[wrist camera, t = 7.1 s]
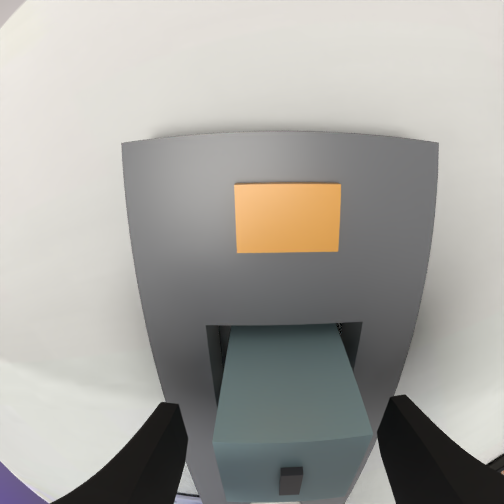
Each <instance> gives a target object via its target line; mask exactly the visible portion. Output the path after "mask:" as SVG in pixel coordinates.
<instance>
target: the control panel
mask: <svg viewBox="0 0 504 504" xmlns="http://www.w3.org/2000/svg"><path fill="white" fill-rule="evenodd" d="M121 145H122V162H123V175H124V187H125V197H126V207H127V216H128V224H129V232H130V239H131V246H132V253H133V259H134V265H135V271H136V277H137V283H138V288H139V294H140V299H141V304H142V309H143V314H144V319H145V323H146V328H147V332H148V336H149V341H150V345H151V349H152V353H153V357H154V361H155V365H156V369H157V373H158V376H159V380H160V384H161V387H162V391H163V394H164V397H165V401H166V403H176V404H179V407H180V410H181V414H182V418H183V421H184V425H185V428H186V432H187V435H188V445H187V453H186V460H185V461H186V463H187V466H188V469H189V471H190V474H191V476H192V479H193V481H194V484H195V486H196V489H197V491H198V494H199V496H200V498H201V501H202V503H203V504H345V502H346V500H347V498H348V496H349V495H350V493H351V491H352V489H353V487H354V485H355V483H356V481H357V480H358V478H359V476H360V474H361V472H362V470H363V468H364V466H365V464H366V461H367V459H368V457H369V455H370V453H371V451H372V448H373V446H374V444H375V442H376V439H377V430H378V428H379V425H380V423H381V420H382V417H383V415H384V412H385V409H386V407H387V404H388V401H389V398H390V397H393V396H394V394H395V391H396V388H397V385H398V382H399V379H400V376H401V373H402V370H403V367H404V364H405V360H406V357H407V354H408V350H409V347H410V343H411V340H412V336H413V332H414V328H415V324H416V320H417V316H418V312H419V307H420V303H421V298H422V294H423V289H424V284H425V279H426V273H427V267H428V261H429V255H430V249H431V242H432V234H433V226H434V217H435V207H436V195H437V179H438V151H439V143H437V142H431V141H424V140H416V139H408V138H400V137H390V136H380V135H369V134H355V133H339V132H314V131H252V132H226V133H210V134H196V135H184V136H174V137H164V138H155V139H147V140H139V141H132V142H125V143H121ZM328 323H343V325H342V332H341V340H342V343H343V345H344V348H345V351H346V354H347V356H348V359H349V362H350V365H351V368H352V371H353V374H354V376H355V379H356V382H357V385H358V388H359V391H360V394H361V397H362V400H363V403H364V406H365V409H366V412H367V415H368V419H369V422H370V425H371V428H372V431H373V436H372V439H371V441H370V444H369V446H368V448H367V451H366V453H365V455H364V457H363V460H362V462H361V464H360V466H359V468H358V471H357V473H356V475H355V477H354V479H353V481H352V483H351V485H350V487H349V489H348V491H347V493H346V495H345V497H338V498H330V499H321V500H311V501H297V502H274V503H249V502H227V501H226V497H225V493H224V489H223V485H222V481H221V477H220V473H219V469H218V465H217V461H216V456H215V452H214V448H213V443H212V440H213V434H214V428H215V421H216V415H217V409H218V403H219V397H220V391H221V385H222V379H223V365H222V356H221V346H220V336H219V326H218V325H303V324H328Z"/></svg>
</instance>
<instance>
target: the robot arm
mask: <svg viewBox="0 0 504 504" xmlns="http://www.w3.org/2000/svg"><path fill="white" fill-rule="evenodd" d="M377 437H378V443H379V448H380V453H381V457H382V460H383V464H384V467H385V470H386V473H387V476H388V479H389V482H390V485H391V489H392V492H393V495H394V498H395V501H396V504H504V475H503V474H501V473H499V472H497V471H495V470H493V469H492V468H490V467H488V466H487V465H485V464H483V463H482V462H480V461H479V460H477V459H476V458H474V457H473V456H471V455H470V454H469V453H467V452H466V451H465V450H464V449H462V448H461V447H460V446H459V445H457V444H456V443H455V442H454V441H453V440H452V439H450V438H449V437H448V436H447V435H446V434H445V433H444V432H443V431H442V430H441V429H439V428H438V427H437V426H436V425H435V424H434V423H433V422H432V421H431V420H430V419H429V418H428V417H427V416H426V415H425V414H424V413H423V412H422V411H421V410H420V409H419V408H418V407H417V406H416V405H415V404H414V403H413V402H412V401H411V400H410V399H409V398H408V397H407V396H406V395H399V396H393V397H390V398H389V401H388V404H387V407H386V409H385V412H384V415H383V417H382V420H381V423H380V425H379V428H378V430H377ZM187 445H188V435H187V432H186V428H185V425H184V421H183V418H182V414H181V410H180V407H179V404H176V403H166V402H161V403H160V404H159V405H158V407H157V408H156V409H155V410H154V412H153V413H152V414H151V416H150V417H149V418H148V419H147V421H146V422H145V423H144V424H143V426H142V427H141V428H140V429H139V431H138V432H137V433H136V434H135V435H134V436H133V437H132V439H131V440H130V441H129V442H128V443H127V444H126V445H125V446H124V447H123V449H122V450H121V451H120V452H119V453H118V454H117V455H116V456H115V457H114V458H113V459H112V460H111V461H110V462H109V463H107V464H106V465H105V466H104V467H103V468H102V469H101V470H100V471H98V472H97V473H96V474H95V475H94V476H92V477H91V478H90V479H89V480H87V481H86V482H85V483H83V484H82V485H80V486H79V487H77V488H76V489H75V490H73V491H72V492H70V493H68V494H67V495H65V496H63V497H61V498H60V499H58V500H56V501H54V502H52V503H50V504H203V503H202V501H201V498H200V497H191V496H184V495H177V490H178V487H179V483H180V479H181V476H182V472H183V468H184V465H185V460H186V453H187Z"/></svg>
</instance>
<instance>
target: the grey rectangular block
mask: <svg viewBox="0 0 504 504" xmlns="http://www.w3.org/2000/svg"><path fill="white" fill-rule="evenodd" d="M372 436H373V431H372V428H371V425H370V422H369V419H368V415H367V412H366V409H365V406H364V403H363V400H362V397H361V394H360V391H359V388H358V385H357V382H356V379H355V376H354V374H353V371H352V368H351V365H350V362H349V359H348V356H347V354H346V351H345V348H344V345H343V343H342V340H341V337H340V334H339V332H338V329H337V326H336V323H328V324H303V325H232V326H231V332H230V337H229V343H228V349H227V355H226V361H225V367H224V373H223V379H222V385H221V391H220V397H219V403H218V409H217V415H216V421H215V428H214V434H213V440H212V443H213V448H214V452H215V456H216V461H217V465H218V469H219V473H220V477H221V481H222V485H223V489H224V493H225V497H226V501H227V502H249V503H274V502H297V501H311V500H321V499H330V498H338V497H345V495H346V493H347V491H348V489H349V487H350V485H351V483H352V481H353V479H354V477H355V475H356V473H357V471H358V468H359V466H360V464H361V462H362V460H363V457H364V455H365V453H366V451H367V448H368V446H369V444H370V441H371V439H372Z"/></svg>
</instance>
